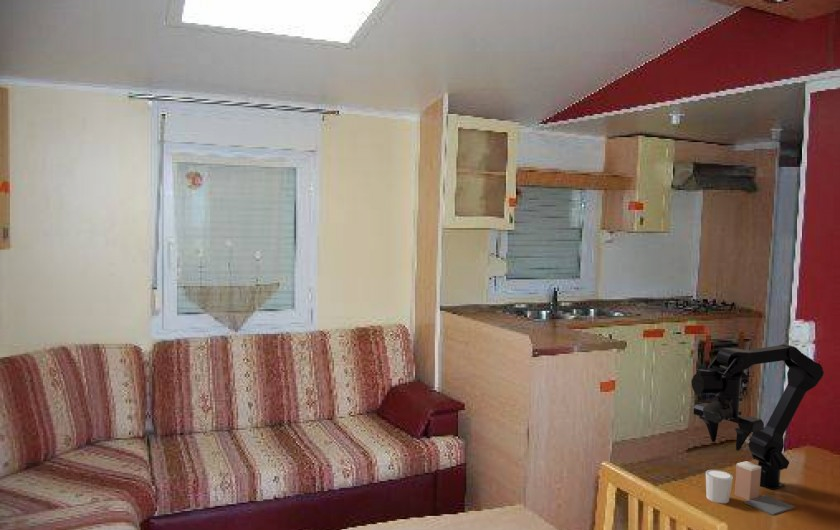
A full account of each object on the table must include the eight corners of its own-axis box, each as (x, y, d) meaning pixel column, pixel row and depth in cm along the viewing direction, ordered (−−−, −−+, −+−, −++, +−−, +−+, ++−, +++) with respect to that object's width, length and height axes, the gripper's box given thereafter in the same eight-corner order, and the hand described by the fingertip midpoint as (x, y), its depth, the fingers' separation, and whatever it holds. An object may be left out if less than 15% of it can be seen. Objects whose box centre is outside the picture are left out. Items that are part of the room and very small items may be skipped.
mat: (765, 496, 178) (766, 495, 178) (794, 508, 172) (794, 506, 172) (743, 503, 174) (743, 501, 174) (772, 515, 167) (772, 513, 167)
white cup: (715, 505, 172) (717, 480, 171) (698, 494, 178) (700, 470, 178) (737, 503, 173) (738, 478, 173) (719, 492, 180) (720, 468, 180)
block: (744, 491, 181) (746, 461, 181) (758, 497, 177) (761, 466, 177) (734, 494, 179) (736, 463, 178) (749, 500, 175) (751, 469, 175)
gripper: (682, 388, 187) (679, 440, 188) (742, 405, 170) (738, 461, 172) (706, 384, 192) (703, 434, 193) (766, 400, 176) (762, 455, 177)
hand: (725, 446), depth 184 cm, fingers open, 7 cm apart
